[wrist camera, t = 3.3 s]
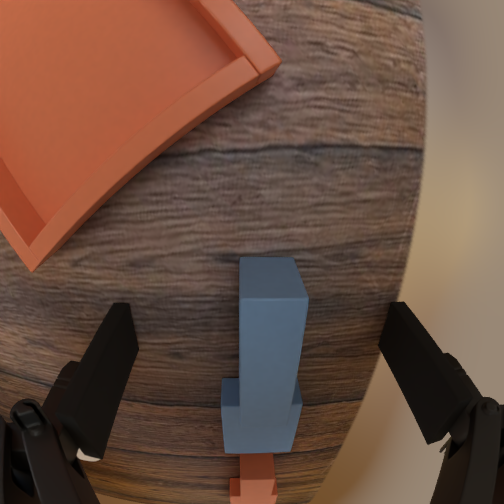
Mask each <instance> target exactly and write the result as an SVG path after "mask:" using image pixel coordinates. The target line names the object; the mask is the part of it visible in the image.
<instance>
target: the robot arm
mask: <svg viewBox="0 0 504 504" xmlns="http://www.w3.org/2000/svg"><path fill="white" fill-rule="evenodd" d="M378 347H379V348H380V350H381V352H382V354H383V356H384V358H385V360H386V362H387V363H388V365H389V367H390V369H391V371H392V373H393V375H394V377H395V379H396V381H397V383H398V385H399V387H400V388H401V391H402V393H403V395H404V396H405V399H406V401H407V403H408V405H409V407H410V409H411V411H412V413H413V415H414V417H415V419H416V421H417V423H418V425H419V427H420V430H421V432H422V434H423V436H424V438H425V440H426V443H427V444H431V443H434V442H437V441H440V440H442V439H443V438H444V436H445V435H446V434H447V433H448V431H449V433H450V435H451V437H450V438H449V440H448V441H447V442H446V443H445V444H444V445H443V447H442V448H441V449H440V452H442V451H443V450H444V449H445V448H446V451H445V455H444V459H443V463H442V467H441V470H440V474H439V477H438V480H437V484H436V487H435V490H434V493H433V496H432V499H431V502H430V504H504V405H499V404H498V402H496V401H495V400H494V399H492V398H490V397H483V396H482V395H481V394H480V392H479V391H478V389H477V388H476V386H475V385H474V383H473V382H472V380H471V379H470V378H469V376H468V375H466V372H465V370H464V369H462V366H461V365H460V363H459V362H458V361H457V359H456V358H454V357H453V356H452V355H450V354H449V353H444V354H443V353H442V351H441V349H440V348H439V347H438V346H437V344H436V343H435V341H434V340H433V338H432V337H431V336H430V334H429V333H428V332H427V331H426V329H425V328H424V326H423V325H422V324H421V323H420V321H419V320H418V319H417V317H416V316H415V315H414V314H413V312H412V311H411V310H410V308H409V307H408V306H407V305H406V303H405V302H391V305H390V309H389V312H388V316H387V319H386V322H385V325H384V329H383V332H382V335H381V338H380V341H379V344H378ZM138 350H139V347H138V343H137V339H136V335H135V331H134V327H133V322H132V318H131V313H130V309H129V304H123V303H113V305H112V307H111V308H110V310H109V312H108V313H107V315H106V317H105V318H104V320H103V322H102V324H101V325H100V327H99V329H98V331H97V332H96V334H95V336H94V338H93V339H92V341H91V343H90V345H89V347H88V348H87V350H86V352H85V354H84V356H83V358H82V359H81V361H80V362H76V361H70V362H69V363H68V364H67V365H66V366H64V367H63V368H62V370H61V372H60V374H59V375H58V377H57V378H58V379H56V381H55V383H54V386H52V388H51V390H50V392H49V394H48V396H47V398H46V400H45V402H44V404H43V406H42V407H41V406H40V405H39V403H38V402H36V401H35V400H33V399H29V398H28V399H22V400H20V401H18V402H17V403H16V404H15V405H14V406H13V407H12V409H11V411H10V418H11V419H12V421H13V422H14V423H7V422H6V421H5V420H4V418H3V417H2V416H0V504H100V502H99V500H98V498H97V497H96V495H95V492H94V490H93V488H92V486H91V484H90V482H89V480H88V478H87V476H86V473H85V471H84V469H83V467H82V464H81V462H80V460H79V458H78V457H77V453H78V450H79V449H80V450H81V451H82V452H83V454H84V455H86V456H89V457H93V458H97V459H103V456H104V452H105V449H106V445H107V442H108V439H109V435H110V432H111V429H112V426H113V423H114V419H115V416H116V413H117V410H118V407H119V404H120V401H121V398H122V395H123V392H124V389H125V386H126V384H127V381H128V378H129V375H130V372H131V369H132V367H133V364H134V361H135V358H136V356H137V353H138Z"/></svg>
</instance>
